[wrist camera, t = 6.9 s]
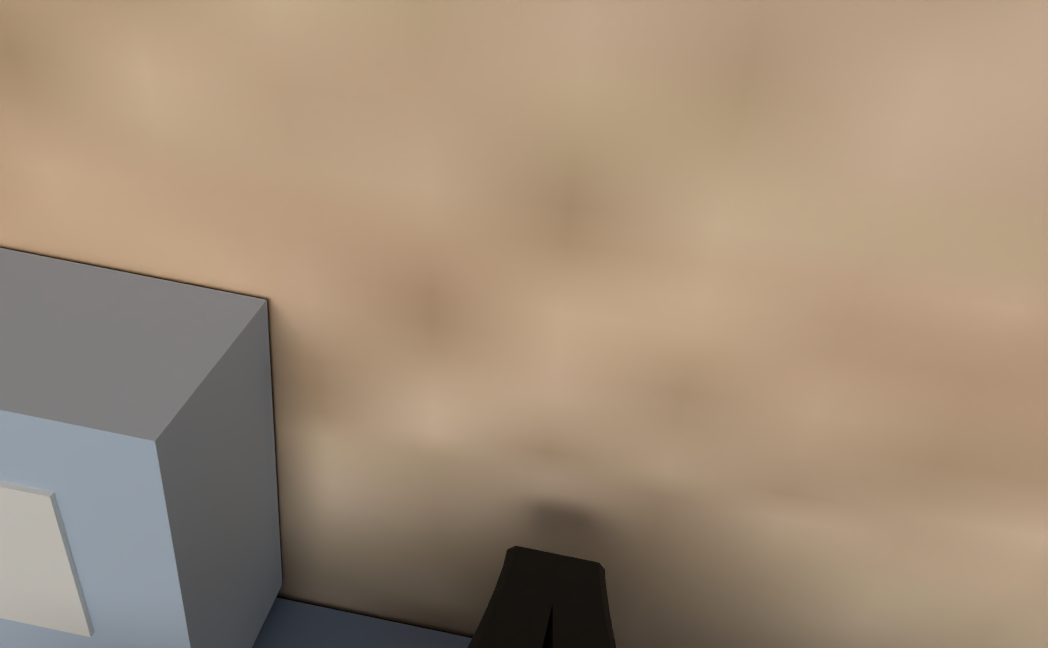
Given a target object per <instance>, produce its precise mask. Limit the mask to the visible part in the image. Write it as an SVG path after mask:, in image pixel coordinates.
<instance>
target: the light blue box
mask: <svg viewBox="0 0 1048 648" xmlns="http://www.w3.org/2000/svg"><path fill="white" fill-rule="evenodd" d="M281 586H282V570H281V551H280V533H279V515H278V496H277V478H276V460H275V441H274V423H273V405H272V386H271V368H270V350H269V332H268V313H267V300H265V299H260V298H255V297H250V296H244V295H239V294H234V293H229V292H224V291H219V290H214V289H209V288H203V287H198V286H193V285H188V284H183V283H178V282H173V281H168V280H162V279H157V278H152V277H147V276H142V275H137V274H132V273H127V272H122V271H116V270H111V269H106V268H101V267H96V266H91V265H86V264H81V263H75V262H70V261H65V260H60V259H55V258H50V257H45V256H40V255H34V254H29V253H24V252H19V251H14V250H9V249H4V248H0V648H252V646H253V644H254V642H255V640H256V638H257V636H258V634H259V632H260V630H261V628H262V626H263V623H264V621H265V619H266V617H267V615H268V613H269V611H270V609H271V607H272V605H273V602H274V600H275V598H276V596H277V594H278V592H279V590H280V588H281Z"/></svg>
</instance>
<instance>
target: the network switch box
mask: <svg viewBox="0 0 1048 648" xmlns="http://www.w3.org/2000/svg"><path fill="white" fill-rule="evenodd" d="M471 640H472V638H469V637H464V636H459V635H454V634H449V633H445V632H440V631H435V630H430V629H425V628H421V627H416V626H411V625H406V624H401V623H397V622H392V621H387V620H382V619H377V618H373V617H368V616H363V615H358V614H353V613H349V612H344V611H339V610H334V609H329V608H324V607H320V606H315V605H310V604H305V603H300V602H296V601H291V600H286V599H281V598H275V600H274V602H273V605H272V607H271V609H270V611H269V613H268V615H267V617H266V619H265V621H264V623H263V626H262V628H261V630H260V632H259V634H258V636H257V638H256V640H255V642H254V644H253V646H252V648H467V647H468V646H469V644H470V642H471Z"/></svg>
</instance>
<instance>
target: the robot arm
mask: <svg viewBox="0 0 1048 648" xmlns="http://www.w3.org/2000/svg"><path fill="white" fill-rule="evenodd" d="M467 648H616V644H615V639H614V634H613V629H612V623H611V618H610V612H609V605H608V598H607V590H606V581H605V569H604V568H603V567H602V566H601V565H600V563H598V562H593V561H588V560H583V559H578V558H573V557H568V556H564V555H559V554H554V553H549V552H544V551H539V550H534V549H529V548H524V547H519V546H515V547H512V548H510V549H507V552H506V556H505V560H504V564H503V568H502V571H501V573H500V576H499V579H498V582H497V585H496V587H495V590H494V592H493V595H492V597H491V600H490V602H489V604H488V607H487V609H486V611H485V613H484V615H483V617H482V620H481V622H480V624H479V626H478V628H477V630H476V632H475V634H474V636H473V638H472V640H471V642H470V644H469V646H468V647H467Z"/></svg>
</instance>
